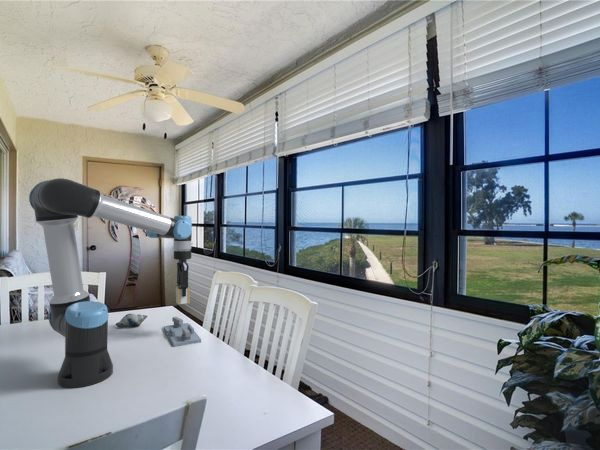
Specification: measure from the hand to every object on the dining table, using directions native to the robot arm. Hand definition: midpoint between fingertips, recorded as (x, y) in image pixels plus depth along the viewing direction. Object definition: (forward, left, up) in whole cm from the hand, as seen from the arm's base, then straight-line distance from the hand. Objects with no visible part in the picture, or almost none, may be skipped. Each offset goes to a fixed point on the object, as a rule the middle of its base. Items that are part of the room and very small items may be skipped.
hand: (182, 301), depth 150 cm
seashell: (+23, +19, -15) cm, 34 cm away
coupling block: (0, 0, 0) cm, 0 cm away
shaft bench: (0, 0, -15) cm, 15 cm away
